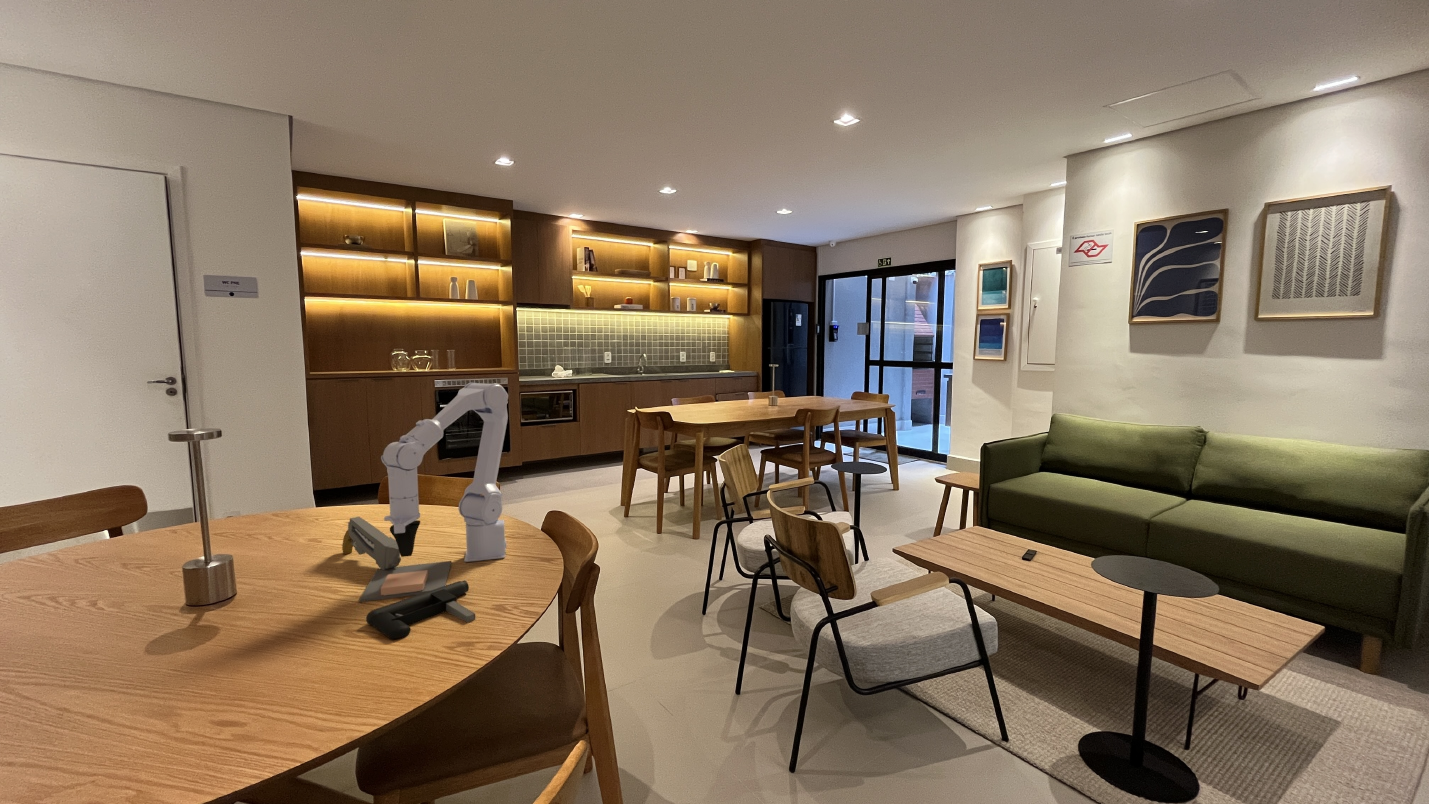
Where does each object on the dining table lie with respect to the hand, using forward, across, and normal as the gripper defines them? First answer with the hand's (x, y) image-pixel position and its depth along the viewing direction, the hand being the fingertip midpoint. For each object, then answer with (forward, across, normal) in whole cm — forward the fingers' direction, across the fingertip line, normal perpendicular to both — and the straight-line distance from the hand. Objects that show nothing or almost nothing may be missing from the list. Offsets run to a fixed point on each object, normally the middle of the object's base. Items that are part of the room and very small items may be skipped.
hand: (406, 555), depth 131 cm
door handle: (+7, +20, +8) cm, 22 cm away
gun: (+6, -17, -11) cm, 21 cm away
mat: (+6, -1, 0) cm, 7 cm away
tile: (+5, 0, 0) cm, 5 cm away
